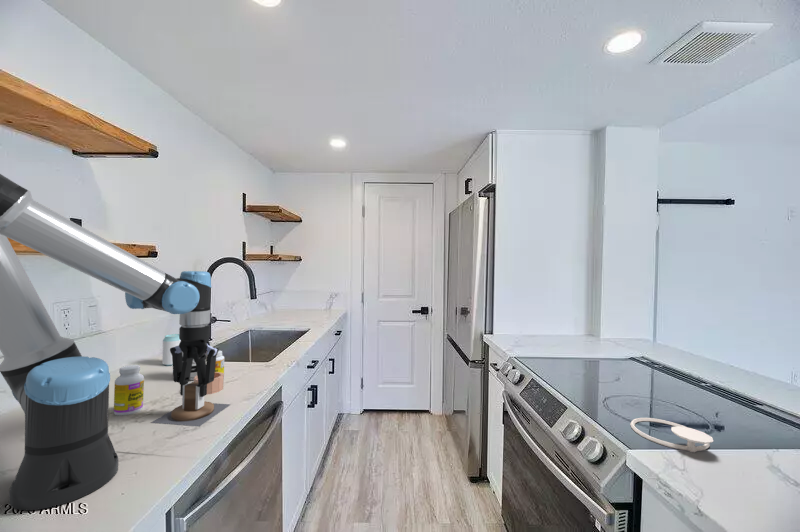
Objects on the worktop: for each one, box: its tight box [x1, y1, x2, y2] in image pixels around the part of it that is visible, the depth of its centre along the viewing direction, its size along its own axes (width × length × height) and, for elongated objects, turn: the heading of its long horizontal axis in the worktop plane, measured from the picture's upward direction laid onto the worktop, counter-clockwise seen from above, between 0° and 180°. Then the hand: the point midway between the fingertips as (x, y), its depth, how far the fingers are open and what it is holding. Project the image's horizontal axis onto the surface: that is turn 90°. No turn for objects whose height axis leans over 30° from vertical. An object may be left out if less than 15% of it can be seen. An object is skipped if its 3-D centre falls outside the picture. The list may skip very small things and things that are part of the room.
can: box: [161, 333, 181, 367], centre depth 143 cm, size 7×7×12 cm
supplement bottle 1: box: [113, 364, 145, 416], centre depth 98 cm, size 7×7×13 cm
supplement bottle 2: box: [215, 349, 225, 374], centre depth 126 cm, size 6×6×10 cm
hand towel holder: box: [629, 417, 714, 453], centre depth 90 cm, size 17×4×20 cm
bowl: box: [193, 372, 225, 396], centre depth 114 cm, size 9×9×5 cm
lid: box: [171, 381, 214, 421], centre depth 97 cm, size 10×10×8 cm
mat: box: [150, 402, 231, 428], centre depth 97 cm, size 14×14×1 cm
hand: (193, 406), depth 97 cm, fingers closed on lid, 3 cm apart
